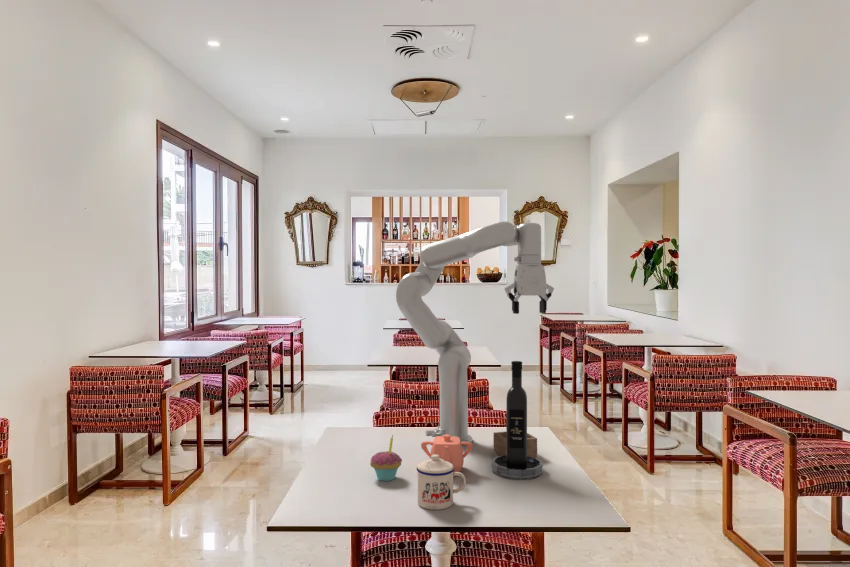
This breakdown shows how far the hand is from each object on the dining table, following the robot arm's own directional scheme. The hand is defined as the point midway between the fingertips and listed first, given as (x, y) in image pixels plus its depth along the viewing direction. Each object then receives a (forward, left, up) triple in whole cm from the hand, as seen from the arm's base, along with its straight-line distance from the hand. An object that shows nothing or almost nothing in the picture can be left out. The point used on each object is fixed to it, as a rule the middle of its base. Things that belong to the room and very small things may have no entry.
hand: (529, 313), depth 188 cm
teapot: (-34, -16, -44) cm, 57 cm away
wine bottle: (-15, -22, -42) cm, 50 cm away
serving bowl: (-15, -22, -43) cm, 51 cm away
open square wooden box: (-9, -8, -43) cm, 45 cm away
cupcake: (-52, -17, -44) cm, 70 cm away
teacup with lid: (-43, -38, -44) cm, 72 cm away
